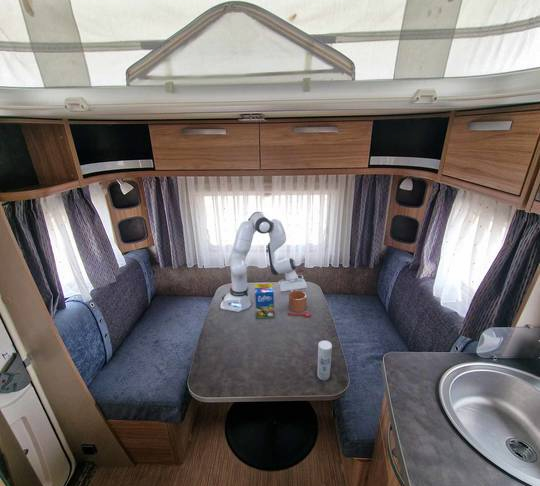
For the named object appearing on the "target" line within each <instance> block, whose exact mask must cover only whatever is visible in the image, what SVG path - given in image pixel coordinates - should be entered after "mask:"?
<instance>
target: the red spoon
mask: <svg viewBox="0 0 540 486" xmlns="http://www.w3.org/2000/svg"><path fill="white" fill-rule="evenodd" d="M287 315H288V316H302V317H303V316H304V317H305V318H310V317H311V313H310V312H305V313H300V312H297V313H296V312H295V313H294V312H288V313H287Z"/></svg>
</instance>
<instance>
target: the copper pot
mask: <svg viewBox="0 0 540 486" xmlns="http://www.w3.org/2000/svg"><path fill="white" fill-rule="evenodd" d="M288 308H289V310H291V311H293V312H295V313H296V312H297V313H300V312H303V311H305V310H306V309H307V293H306V292H304V291H303V290H298V291H292V292H290V291H289V294H288Z"/></svg>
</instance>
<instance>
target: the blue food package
mask: <svg viewBox="0 0 540 486" xmlns="http://www.w3.org/2000/svg"><path fill="white" fill-rule="evenodd" d="M274 295H275V294H274V283H256V284H254V299H255V312H256V313H255V314H256V319H272V318H275V296H274Z"/></svg>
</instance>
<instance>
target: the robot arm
mask: <svg viewBox="0 0 540 486" xmlns="http://www.w3.org/2000/svg"><path fill="white" fill-rule="evenodd" d="M256 232H258V233H259V234H268V236H269V242H268V243H267V254H268V260H269V270H270V273H271V275H274V276H278V275H281V274H284V278H285V279H279V281H277V282H278V286H279V292H280V293H287V292H289V293H290V292H292V291H303V290H306V289H307V287H308V284H307V282H306V280H305V279H304V275H302V274H297V272H296V268H297V266H296V262H295V260H294V259H293V258H292V257H290V256H287V257H286V256H285V257H284V258H283V259H280V260H276V259H275V258H276V257H275V252H276V251H277V250H278V249H280V248H281V247H283V246H284V245H285V243H286V241H287V235H286V234H287V233H286V231H285V228H284V226H283V224H282V222H281V220H280V219H279V218H272V219H271V218H269V217H268V216H267V215H266V214H265V213H263V212H261V211H255V212H253V213H252V214H251V215H250V216H249V218H248V220H243V221H242V222H241V223H240V224H239V226H238V228H237V231H236V235H235V239H234V242H233V247H232V249H231V252H230V254H229V257H228V263H229V269H230V280H231V281H230V282H231V286H230V288H229V290H228V291H229V292H228V293H226V294H225V293H224V295H223V296H221V300H222V301H221V302H220V306H219V307H220V310H226V311H231V312H237V313H240V312H242V311H244V310H248V309H249V308H250V307H251V306H252V302H251V299H250V295H249V294H250V290H249V286H248V266H247V261H246V258H247V255H248V253H249V252H250V250H251V247H252V242H253V238H254V235H255V233H256Z"/></svg>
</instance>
